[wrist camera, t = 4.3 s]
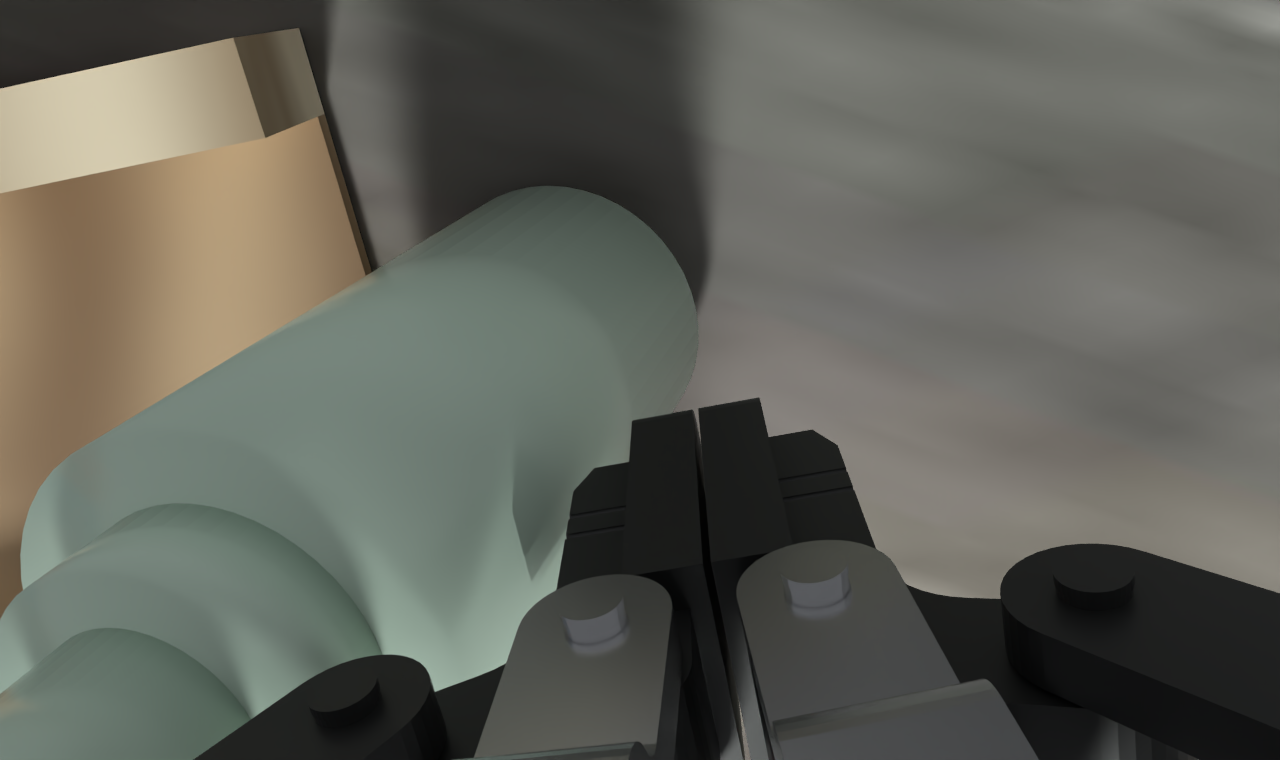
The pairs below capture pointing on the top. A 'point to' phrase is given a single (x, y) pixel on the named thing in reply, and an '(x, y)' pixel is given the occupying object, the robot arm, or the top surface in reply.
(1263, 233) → the top surface
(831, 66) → the top surface
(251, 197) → the cradle
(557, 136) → the top surface
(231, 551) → the bottle
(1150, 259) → the top surface
